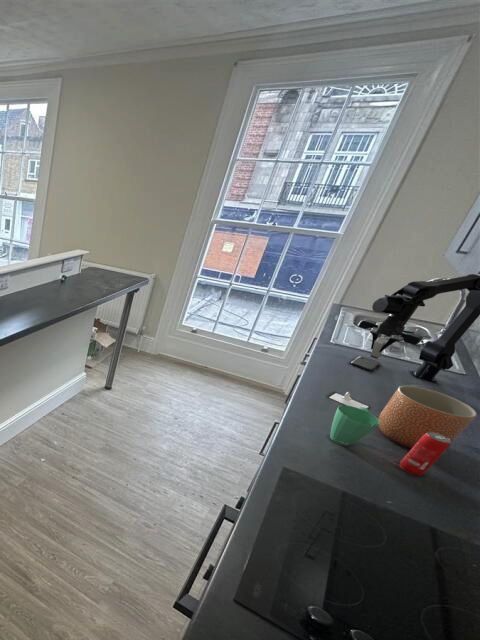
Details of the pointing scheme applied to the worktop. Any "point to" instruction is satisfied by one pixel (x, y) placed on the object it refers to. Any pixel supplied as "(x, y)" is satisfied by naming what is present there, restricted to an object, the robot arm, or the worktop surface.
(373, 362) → the smartphone
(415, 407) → the planter
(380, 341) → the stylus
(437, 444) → the beverage can
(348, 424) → the mug
